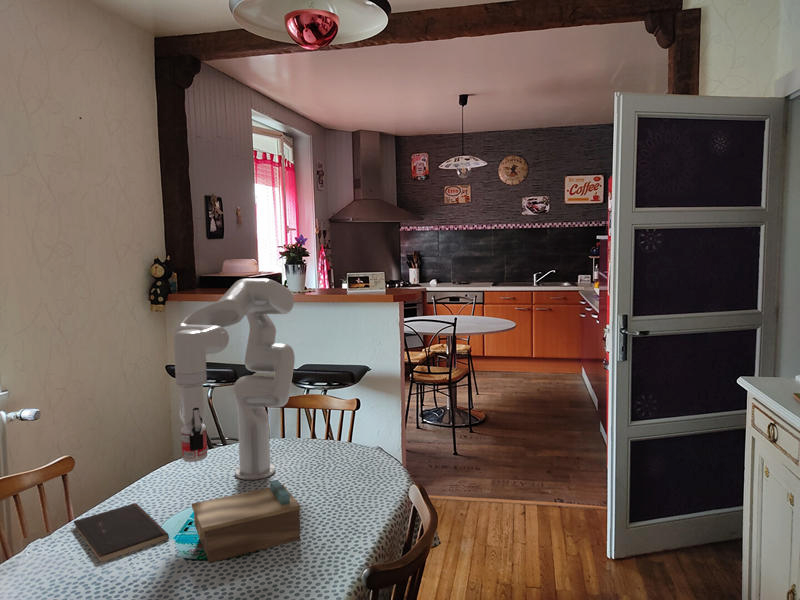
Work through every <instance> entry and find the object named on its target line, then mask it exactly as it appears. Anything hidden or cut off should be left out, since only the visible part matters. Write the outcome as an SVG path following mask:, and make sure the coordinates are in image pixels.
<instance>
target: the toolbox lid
mask: <svg viewBox="0 0 800 600" xmlns="http://www.w3.org/2000/svg"><path fill="white" fill-rule="evenodd" d="M269 483H270V485H269V487H265V488H264V487H263V488H260V489H256V490H251V491H247V492H246V491H245V492H241V493H236V494H232V495H227V496H222V497H218V498H212V499H208V500H204V501H198V502H192V503H191V509H192V510H193V519H194V520H193V521H194V524H193V525H194V527H195V529H196V532H197V535H198V538H199V537H200V539H203V538H205V534H204V532H205V531H209V530H213V529H217V528H222V527H226V526H230V525H235V524H239V523H243V522H247V521H252V520H256V519H260V518H264V517H269V516H273V515H277V514H282V513H286V512H290V511H294V510H299V509H300V510H301V504H300V503H299V502H298V501H297V499H295V497H294V496H293V494H292V493H291V492H290V491H289V490H288V488H287V487H286V486H285V485H284V484H282V483H281V482H280V480H279V479H275V480H271V481H270V482H269ZM200 539H199V540H200Z"/></svg>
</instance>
